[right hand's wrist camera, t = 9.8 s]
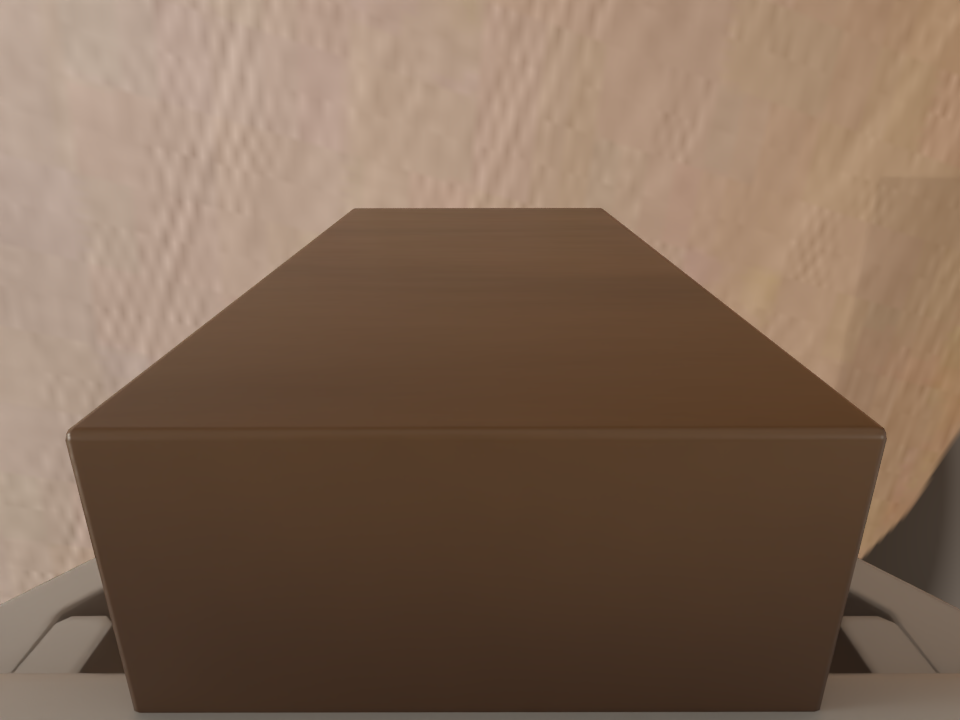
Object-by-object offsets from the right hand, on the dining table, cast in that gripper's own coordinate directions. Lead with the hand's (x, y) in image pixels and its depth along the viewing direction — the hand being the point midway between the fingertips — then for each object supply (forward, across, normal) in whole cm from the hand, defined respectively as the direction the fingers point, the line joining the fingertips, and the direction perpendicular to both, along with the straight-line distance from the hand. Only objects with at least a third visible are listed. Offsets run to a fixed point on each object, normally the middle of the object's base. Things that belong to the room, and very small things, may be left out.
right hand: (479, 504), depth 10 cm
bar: (+4, 0, -9) cm, 10 cm away
